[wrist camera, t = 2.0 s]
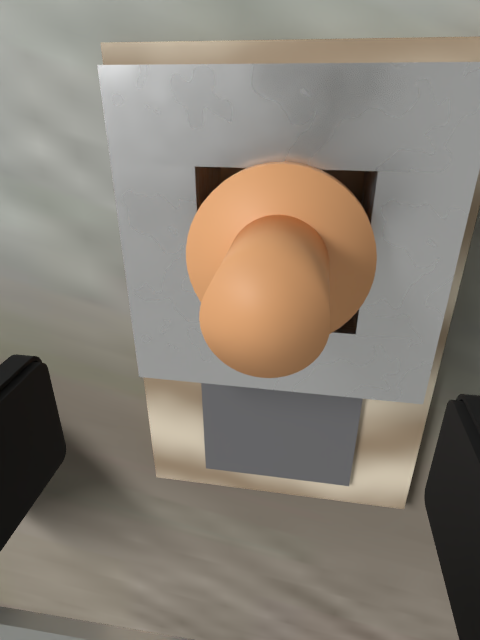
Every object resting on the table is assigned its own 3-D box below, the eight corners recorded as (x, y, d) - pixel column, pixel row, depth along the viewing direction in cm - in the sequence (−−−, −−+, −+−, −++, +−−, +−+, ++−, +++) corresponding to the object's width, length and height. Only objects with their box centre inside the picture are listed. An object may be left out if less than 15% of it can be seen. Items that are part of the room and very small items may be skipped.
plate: (109, 43, 22) (41, 34, 16) (513, 37, 19) (584, 23, 14) (160, 467, 35) (132, 535, 30) (401, 497, 32) (416, 578, 27)
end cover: (213, 141, 22) (129, 192, 12) (374, 144, 21) (417, 202, 11) (218, 284, 26) (155, 409, 16) (355, 293, 24) (374, 432, 15)
